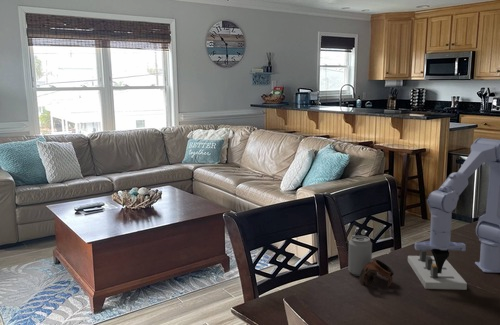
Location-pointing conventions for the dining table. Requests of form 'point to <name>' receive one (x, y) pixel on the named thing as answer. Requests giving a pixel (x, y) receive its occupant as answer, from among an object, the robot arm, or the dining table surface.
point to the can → (359, 254)
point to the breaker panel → (445, 278)
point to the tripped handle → (434, 271)
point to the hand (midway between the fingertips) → (438, 272)
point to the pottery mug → (370, 272)
